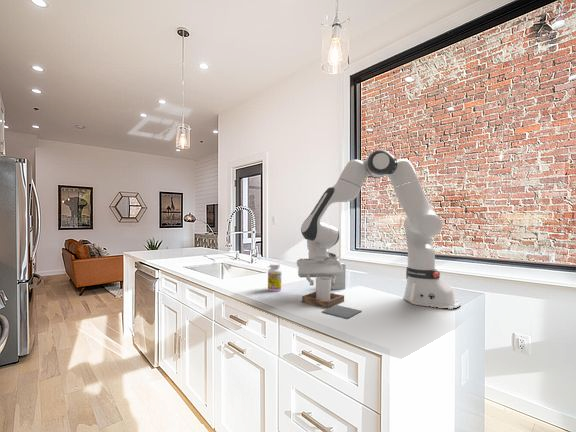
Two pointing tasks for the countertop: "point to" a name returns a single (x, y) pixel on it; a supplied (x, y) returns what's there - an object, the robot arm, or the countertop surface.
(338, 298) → the walnut tray
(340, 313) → the charcoal mat
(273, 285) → the supplement bottle
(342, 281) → the supplement box
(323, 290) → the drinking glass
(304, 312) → the countertop surface
